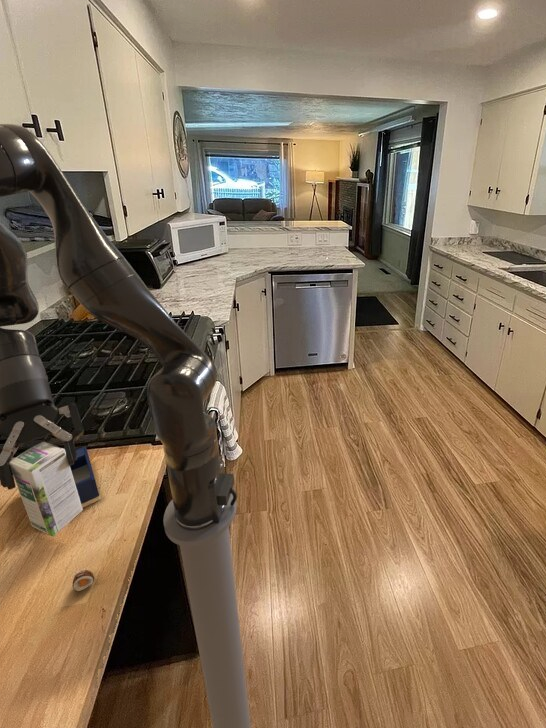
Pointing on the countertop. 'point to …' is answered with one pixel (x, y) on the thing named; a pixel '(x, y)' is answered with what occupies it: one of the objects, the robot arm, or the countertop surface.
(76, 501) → the syrup box
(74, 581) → the chocolate
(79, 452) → the navy blue pull-out drawer
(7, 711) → the countertop surface
